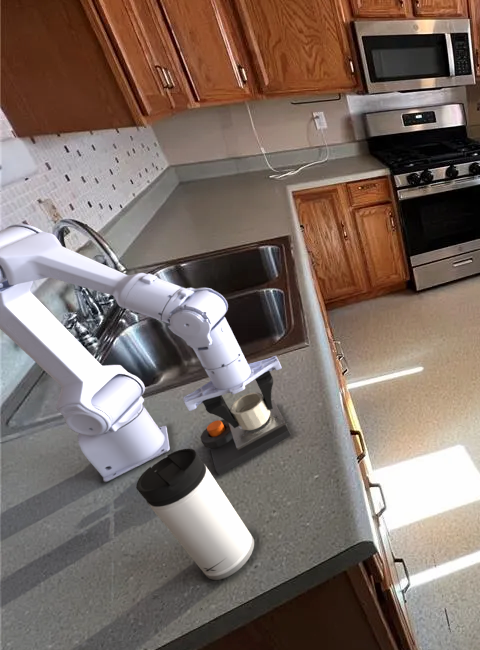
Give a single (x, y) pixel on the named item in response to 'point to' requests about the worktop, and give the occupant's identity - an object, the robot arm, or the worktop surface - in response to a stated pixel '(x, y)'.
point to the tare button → (215, 428)
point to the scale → (227, 451)
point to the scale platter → (258, 429)
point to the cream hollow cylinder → (250, 411)
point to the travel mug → (197, 513)
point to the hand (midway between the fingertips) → (252, 415)
